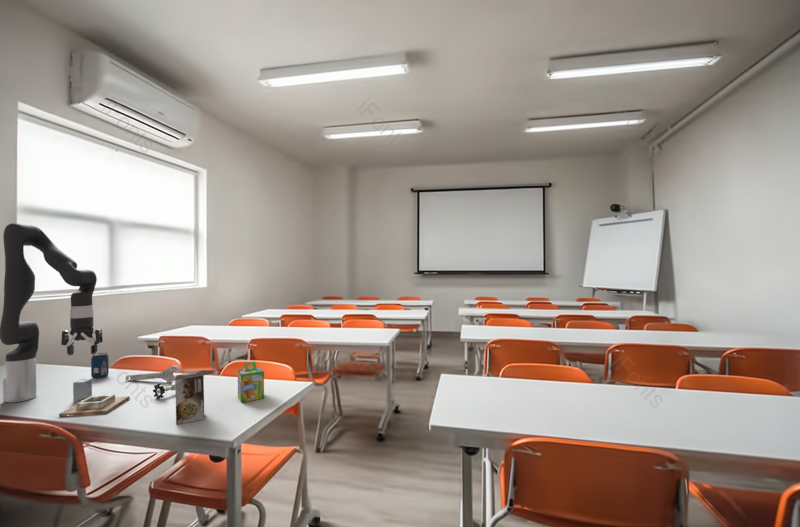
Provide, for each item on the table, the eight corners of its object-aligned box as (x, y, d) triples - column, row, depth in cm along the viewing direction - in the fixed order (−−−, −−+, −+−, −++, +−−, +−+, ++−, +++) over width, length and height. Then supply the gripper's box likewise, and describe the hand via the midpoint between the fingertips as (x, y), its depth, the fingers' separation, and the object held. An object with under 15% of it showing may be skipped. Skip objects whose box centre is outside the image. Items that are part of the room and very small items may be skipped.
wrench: (129, 385, 186) (182, 381, 181) (126, 387, 184) (179, 382, 179) (127, 369, 186) (180, 364, 181) (124, 370, 184) (177, 365, 179)
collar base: (59, 417, 140) (59, 408, 140) (87, 401, 156) (87, 393, 156) (106, 413, 143) (106, 404, 143) (129, 399, 158) (129, 391, 158)
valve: (179, 389, 170) (152, 398, 159) (179, 375, 170) (152, 383, 159) (189, 391, 167) (162, 400, 156) (189, 376, 167) (162, 384, 156)
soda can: (96, 375, 194) (96, 352, 194) (111, 375, 195) (111, 352, 195) (88, 379, 187) (87, 355, 187) (103, 378, 188) (103, 355, 189)
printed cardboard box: (204, 413, 141) (204, 371, 142) (204, 419, 136) (204, 375, 136) (176, 418, 137) (176, 374, 137) (175, 424, 131) (174, 379, 132)
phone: (213, 371, 198) (187, 379, 184) (213, 373, 198) (187, 381, 184) (203, 370, 201) (177, 377, 187) (203, 371, 201) (177, 379, 187)
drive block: (73, 401, 156) (73, 382, 156) (80, 398, 161) (80, 379, 161) (85, 400, 157) (85, 381, 157) (91, 397, 161) (91, 378, 162)
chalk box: (241, 403, 152) (241, 366, 152) (237, 397, 159) (236, 362, 159) (264, 398, 157) (264, 363, 157) (259, 392, 164) (259, 359, 165)
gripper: (56, 318, 154) (56, 357, 154) (94, 316, 157) (95, 355, 157) (69, 315, 162) (69, 353, 162) (105, 314, 164) (106, 351, 164)
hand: (82, 354), depth 159 cm, fingers open, 8 cm apart
